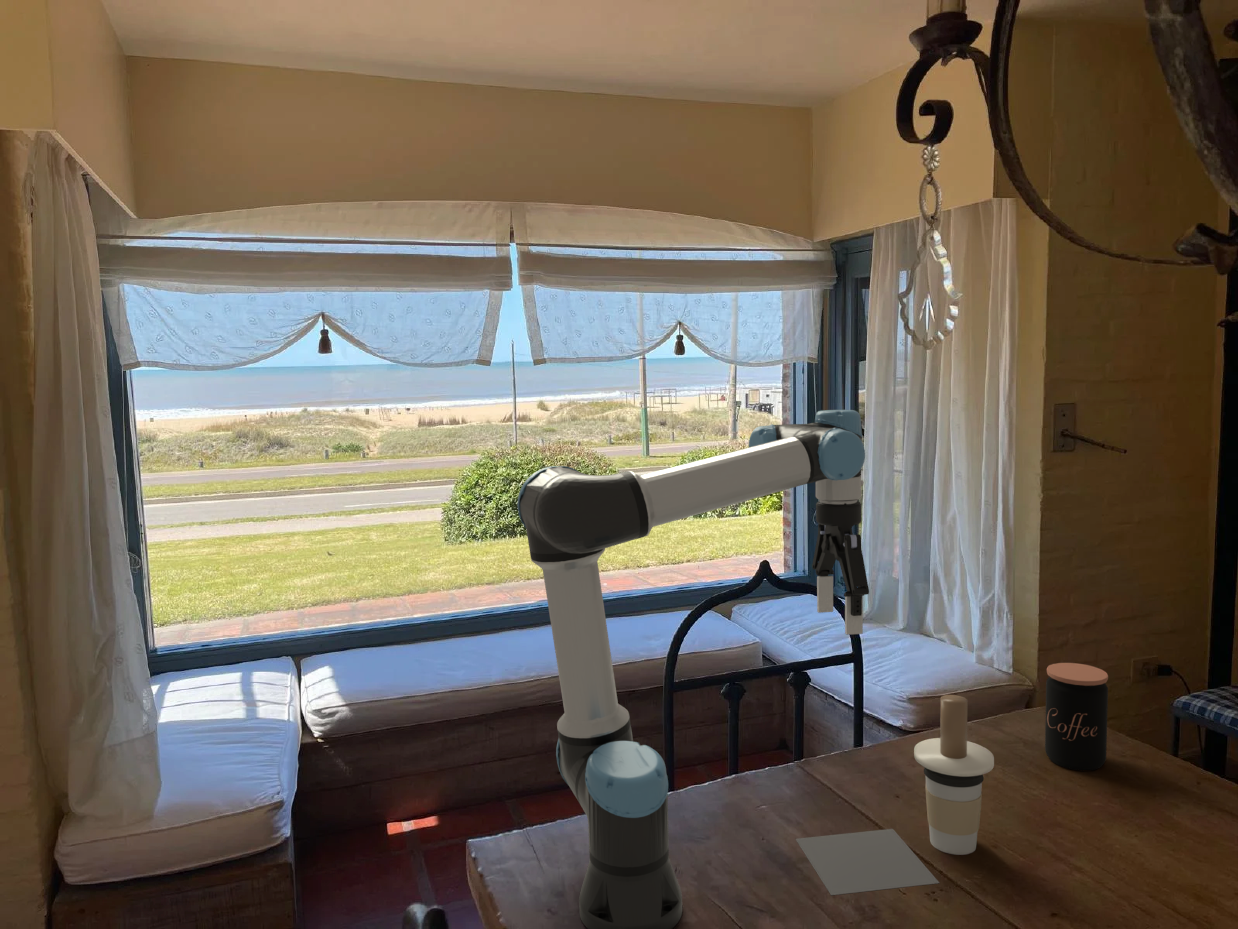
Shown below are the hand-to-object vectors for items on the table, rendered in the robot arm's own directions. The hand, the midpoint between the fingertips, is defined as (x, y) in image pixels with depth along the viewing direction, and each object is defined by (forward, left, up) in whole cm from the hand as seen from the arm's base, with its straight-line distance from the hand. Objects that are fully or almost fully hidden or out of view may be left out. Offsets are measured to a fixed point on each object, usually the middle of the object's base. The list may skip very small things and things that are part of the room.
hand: (838, 622), depth 151 cm
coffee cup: (+14, -14, -35) cm, 40 cm away
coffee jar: (+52, +11, -35) cm, 64 cm away
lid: (+14, -14, -20) cm, 28 cm away
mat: (-3, -16, -35) cm, 38 cm away
